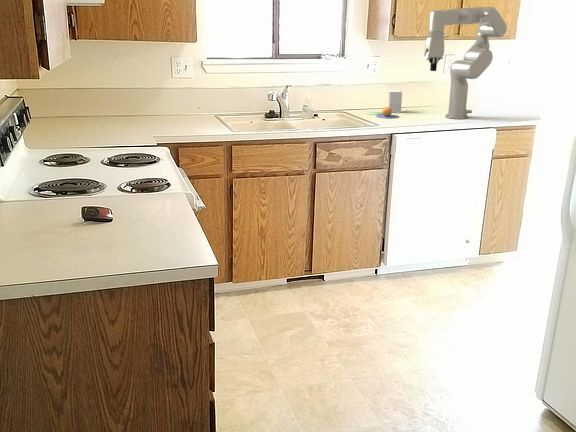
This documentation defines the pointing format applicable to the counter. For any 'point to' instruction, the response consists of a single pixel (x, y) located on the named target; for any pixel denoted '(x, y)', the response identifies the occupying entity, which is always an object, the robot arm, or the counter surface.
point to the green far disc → (375, 113)
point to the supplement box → (395, 100)
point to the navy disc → (387, 116)
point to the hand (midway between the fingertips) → (433, 70)
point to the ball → (386, 111)
